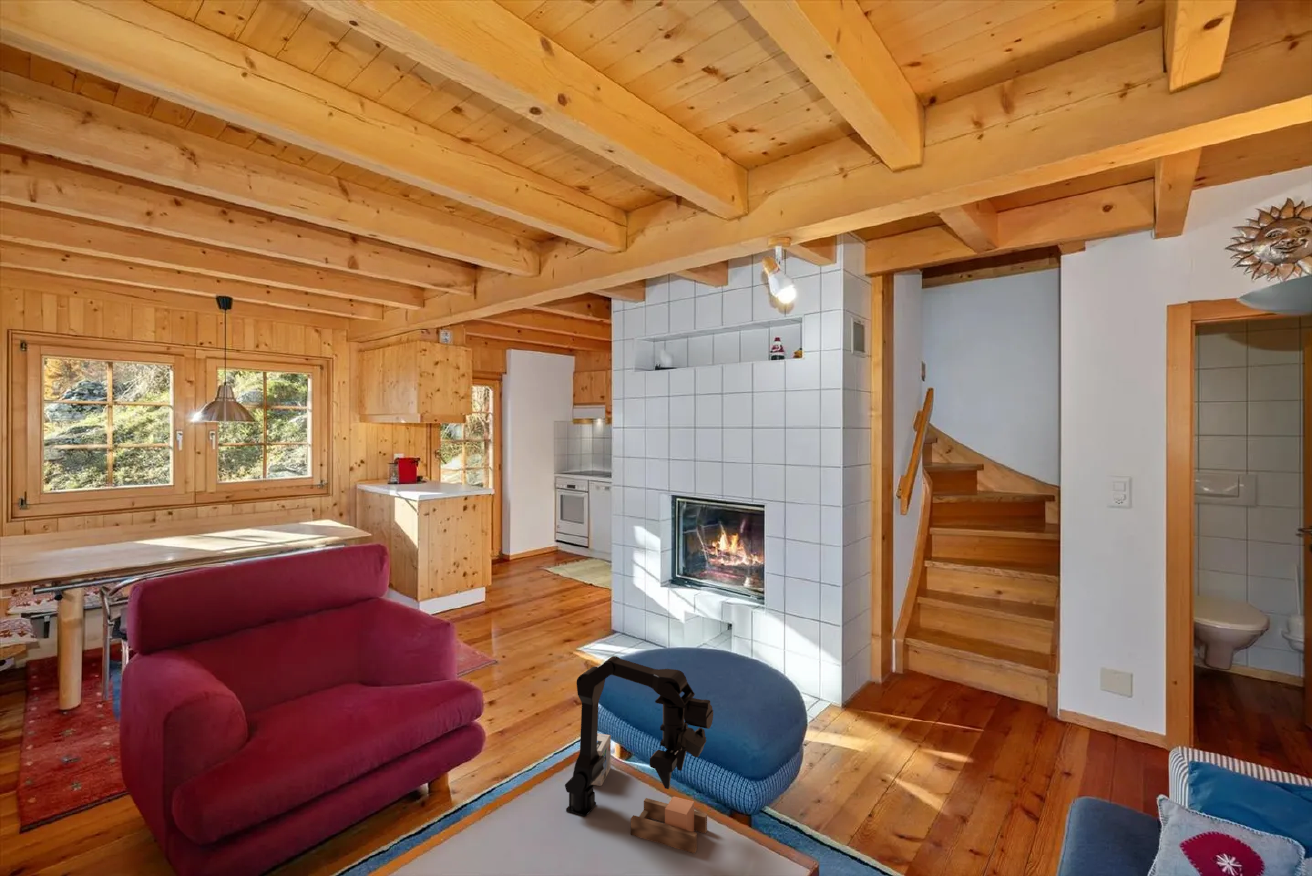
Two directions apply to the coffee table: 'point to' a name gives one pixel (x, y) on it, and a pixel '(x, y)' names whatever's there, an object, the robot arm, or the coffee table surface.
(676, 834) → the walnut chute
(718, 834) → the coffee table surface
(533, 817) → the coffee table surface
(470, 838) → the coffee table surface
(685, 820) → the terracotta block
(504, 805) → the coffee table surface
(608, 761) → the light bulb box
